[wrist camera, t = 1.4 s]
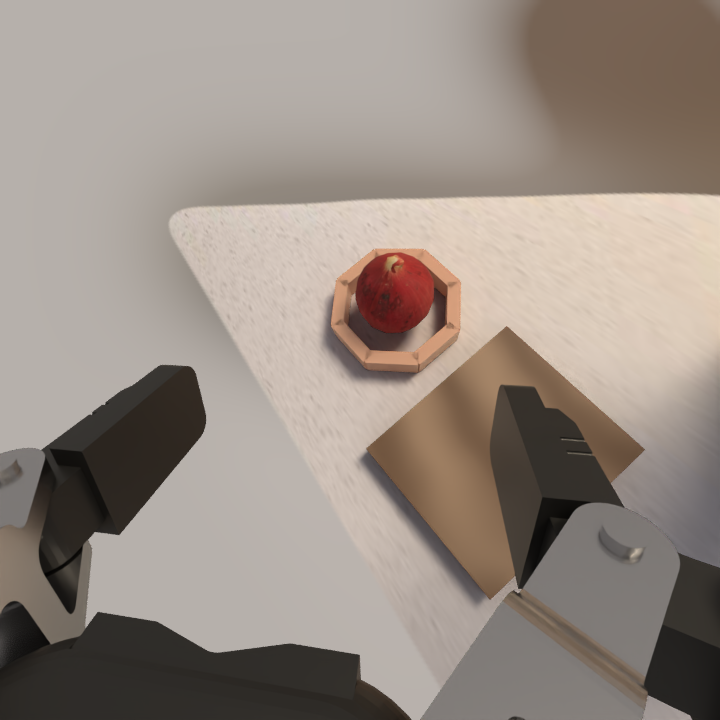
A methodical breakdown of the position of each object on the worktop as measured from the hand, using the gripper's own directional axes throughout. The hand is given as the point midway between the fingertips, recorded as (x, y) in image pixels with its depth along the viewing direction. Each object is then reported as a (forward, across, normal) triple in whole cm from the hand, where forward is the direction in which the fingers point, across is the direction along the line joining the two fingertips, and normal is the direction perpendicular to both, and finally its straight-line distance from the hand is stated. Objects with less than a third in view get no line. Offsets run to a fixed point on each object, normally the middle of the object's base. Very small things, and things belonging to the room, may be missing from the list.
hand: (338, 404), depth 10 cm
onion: (+22, 0, +6) cm, 23 cm away
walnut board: (+15, -8, +13) cm, 21 cm away
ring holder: (+22, 0, +6) cm, 23 cm away
